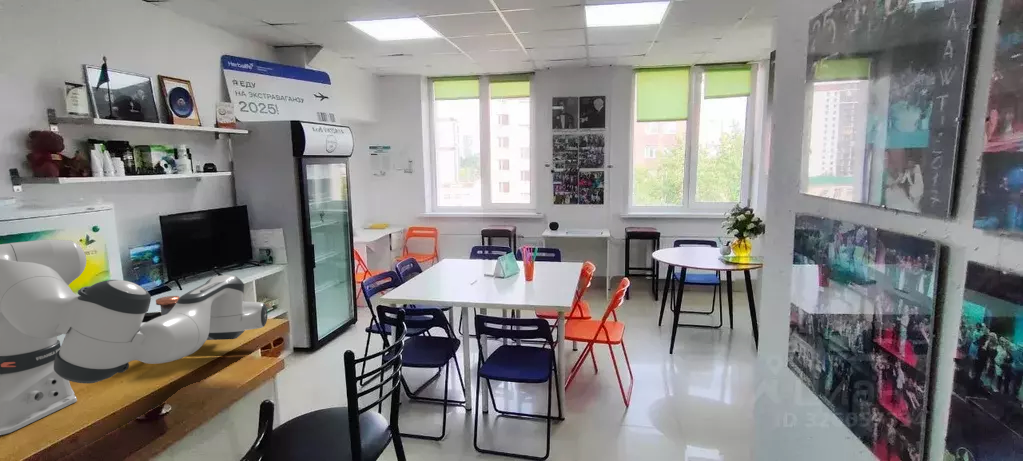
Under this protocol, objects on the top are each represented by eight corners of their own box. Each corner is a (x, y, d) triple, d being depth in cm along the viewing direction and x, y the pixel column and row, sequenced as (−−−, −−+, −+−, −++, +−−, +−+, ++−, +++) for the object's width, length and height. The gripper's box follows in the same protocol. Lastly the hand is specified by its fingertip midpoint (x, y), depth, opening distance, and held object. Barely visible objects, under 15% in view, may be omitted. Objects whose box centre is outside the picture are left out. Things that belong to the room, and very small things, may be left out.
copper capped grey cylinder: (176, 346, 148) (171, 300, 146) (156, 347, 148) (150, 301, 146) (188, 339, 154) (183, 295, 152) (169, 339, 154) (163, 296, 152)
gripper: (193, 338, 141) (144, 339, 140) (231, 316, 161) (188, 317, 160) (191, 317, 140) (141, 318, 139) (229, 297, 160) (185, 298, 159)
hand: (166, 317), depth 150 cm, fingers closed on copper capped grey cylinder, 4 cm apart
